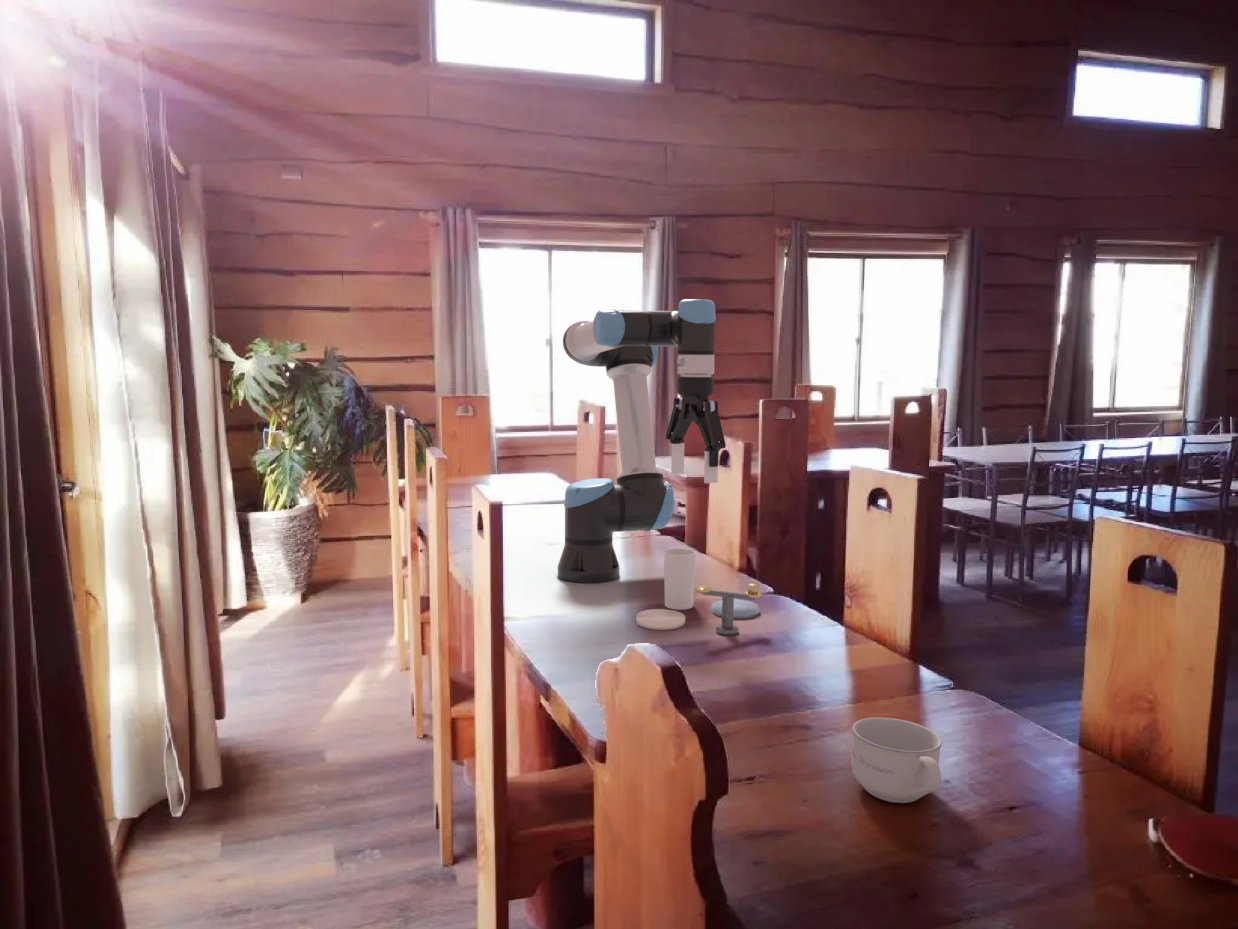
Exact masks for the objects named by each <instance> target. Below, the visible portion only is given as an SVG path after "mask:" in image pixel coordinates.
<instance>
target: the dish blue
mask: <svg viewBox="0 0 1238 929" xmlns="http://www.w3.org/2000/svg"><path fill="white" fill-rule="evenodd" d="M711 613H713V615H716V616H719V617H721V618H722V599H720V600H716V601H714V602H712V604H711ZM759 614H760V605H758V603H755V602H753V601H751V600H747V599H738V598H734V610H733V619H750V618H755V617H757V616H758V615H759Z"/></svg>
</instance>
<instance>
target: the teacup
mask: <svg viewBox="0 0 1238 929" xmlns="http://www.w3.org/2000/svg"><path fill="white" fill-rule="evenodd" d="M851 731H852V737H851V738H852V740H851V751H850V754H851V755H850V757H851V758H850V763H851V764H850V765H851V772H852V774H853V776H854V778H855V780H856V781H857V782H858V783H859V784H860V785H861V786H862V787H863V789H864V790H865V791H866V792H867V793H868V794H870V795H872V796H873V797H874V798H876V799H880V800H883V801H886V802H890V803H897V804H898V803H899V804H907V803H913V802H915V801H917V800H919V799H920V798H922V797H924V796H926V795H927V794H931V793H934V792H935V791H937V790H938V789H939V787H940V785H941V782H942V772H941V769H940V766H939V764H940V763H939V762H940V761H939V760H940V754H941V753H940V752H941V747H942V745H943V742H942V739H941V737H940V736H939V735H938V734H937V733H936V732H935V731H933V730H931V729H930V728H928V727H926V726H924V725H921V724H919V723H916V722H912V721H909V720H904V719H899V718H891V717H878V716H877V717H876V716H875V717H874V716H873V717H866V718H862V719H860V720H859V719H858V720H857V721H855V722H854V723H853V725H852V728H851Z"/></svg>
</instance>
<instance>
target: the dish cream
mask: <svg viewBox="0 0 1238 929" xmlns="http://www.w3.org/2000/svg"><path fill="white" fill-rule="evenodd" d="M635 623H636V624H637V625H638V626H640V627H642V628H645V629H649V630H655V631H656V630H657V631H658V630H659V631H662V630H663V631H665V630H674V629H676V630H677V629H680V628H682V627H683V626H685V625H686V615H685V614H684V613H682V612H680V611H678V610H675V609H668V608H667V609H665V608H655V609H654V608H653V609H652V608H651V609H646V610H641V611H639V612H638V613H637V614H636V616H635Z"/></svg>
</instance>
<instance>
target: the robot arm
mask: <svg viewBox="0 0 1238 929" xmlns="http://www.w3.org/2000/svg"><path fill="white" fill-rule="evenodd" d="M716 320H717V316H716V304H715V302H714V301H713V300H711V299H705V298H704V299H701V298H700V299H699V298H697V299H696V298H694V299H693V298H692V299H689V298H688V299H687V298H686V299H682V300H680V301H679V303H678V310H632V309H631V310H630V309H629V310H625V309H613V308H611V309H602V310H598V311H597V312H596V313H595V316H594V319H593V320H581V321H578V322H575V323H573V324H570V325H569V326H568V327H567V329H566V330H565V332H564V334H563V337H562V346H563V350H564V351H565V353H566V355H567V356H568V357H569V358H570V359H571V360H573V361H574V362H576V363H578V364H581V365H584V366H588V367H597V368H598V367H602V368H603V367H604V368H605V370H606V375H607V377H608V378H609V379H611V381H613V390H614V402H615V414H616V422H617V432H618V433H617V434H618V443H619V444H618V446H619V452H620V453H619V454H620V464H621V466H620V467H621V472H620V474H618V476H617V477H616V484H615V483H614V480H612V479H611V478H606V477H605V478H604V477H602V478H601V477H600V478H598V477H597V478H588V479H583V480H578V481H575V482H573V483H572V482H571V484H569V485H567V487H566V489H565V494H564V503H563V506H564V545H563V549H562V553H561V554H560V559H559V560H558V561H559V562H558V563H557V576H558V577H559V579H562V580H564V581H569V582H574V583H585V584H586V583H591V584H592V583H602V582H609V581H613V580H615V579H617V578H619V577H620V563H619V560H618V557H617V554H616V550H615V548H614V545H613V535H614V533H616V532H618V533H619V532H635V531H636V532H637V531H647V532H649V531H653V530H661V529H664V528H666V527H667V526H668V524H669V522H670V521H671V519H672V516H673V511H674V506H675V505H674V504H675V496H674V495H675V493H674V489H673V485H672V484H671V483H670V482H668V481H664V474H663V472H661V471H660V470H659V469H658V468H657V464H656V452H655V446H654V444H655V443H654V435H653V425H652V416H651V415H652V414H651V405H650V397H649V387H648V379H647V378H648V376H650V374H651V373H652V372H653V369H652V367H654V366H655V365H656V363H657V360H658V357H659V354H658V351H659V347H668V348H669V347H670V348H674V347H675V348H677V359H676V363H677V374H678V375H680V376H678V377H677V379H676V383H677V384H676V392H677V395H679V396H682V397H674V398H673V404H672V405H673V407H672V412H671V415H670V419H669V422H668V426H667V430H666V434H665V439H666V440H669V442H670V444H671V458H670V459H671V460H670V462H671V467H670V469H671V472H670V474H671V475H683V474H685V440H684V438H685V436H686V434H687V432H688V430H689V428H690V426H691V424H692V422H694V424H696V425H697V426H698V429H699V432H700V434H701V436H702V439H703V442H704V445H705V448H704V461H703V462H704V463H703V464H704V465H703V466H704V468H703V470H704V471H703V472H704V474H703V483H704V484H716V483H718V481H719V480H718V478H719V476H718V474H719V473H718V470H719V456H720V455H719V454H720V453H719V452H720V451H721V450H723V449H726V445H727V444H726V441H725V440H726V439H725V436H724V433H723V432H724V431H723V428H722V422H721V419H720V414H719V404H718V401H717V400H709V396H713V394H714V391H715V390H714V389H715V386H714V384H715V379H714V378H713V377H712V375H714V374H715V341H716Z"/></svg>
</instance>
